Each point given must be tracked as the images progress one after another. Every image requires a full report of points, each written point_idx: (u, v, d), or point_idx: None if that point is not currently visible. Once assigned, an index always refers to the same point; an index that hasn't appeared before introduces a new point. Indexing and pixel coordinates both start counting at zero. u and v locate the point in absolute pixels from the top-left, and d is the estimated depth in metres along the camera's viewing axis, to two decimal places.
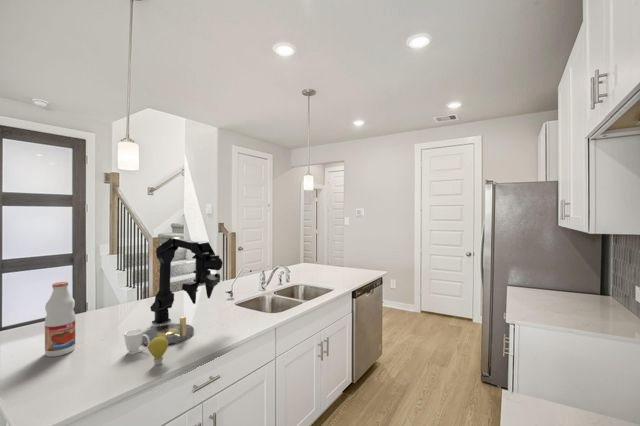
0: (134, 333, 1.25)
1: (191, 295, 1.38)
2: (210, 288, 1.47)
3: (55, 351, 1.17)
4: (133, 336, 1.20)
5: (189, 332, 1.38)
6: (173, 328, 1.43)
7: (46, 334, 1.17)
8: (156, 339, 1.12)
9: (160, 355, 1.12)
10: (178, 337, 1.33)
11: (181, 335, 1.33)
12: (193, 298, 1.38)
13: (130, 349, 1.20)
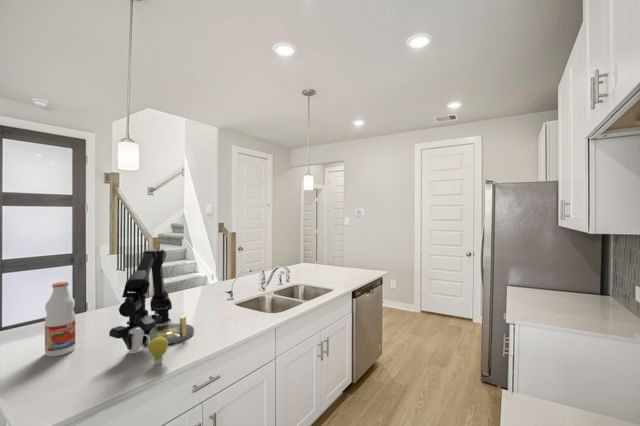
0: (135, 333, 1.25)
1: (126, 341, 1.19)
2: (146, 332, 1.25)
3: (55, 351, 1.17)
4: (134, 335, 1.20)
5: (189, 332, 1.38)
6: (173, 328, 1.43)
7: (46, 334, 1.17)
8: (156, 339, 1.12)
9: (160, 355, 1.12)
10: (178, 337, 1.33)
11: (181, 335, 1.33)
12: (128, 344, 1.18)
13: None
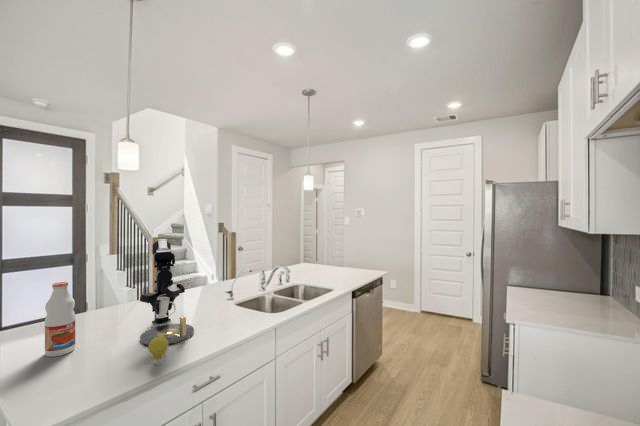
0: (161, 300, 1.38)
1: (154, 306, 1.32)
2: (171, 299, 1.38)
3: (55, 351, 1.17)
4: (161, 302, 1.33)
5: (189, 332, 1.38)
6: (173, 328, 1.43)
7: (46, 334, 1.17)
8: (156, 339, 1.12)
9: (160, 355, 1.12)
10: (178, 337, 1.33)
11: (181, 335, 1.33)
12: (156, 309, 1.32)
13: (158, 314, 1.34)
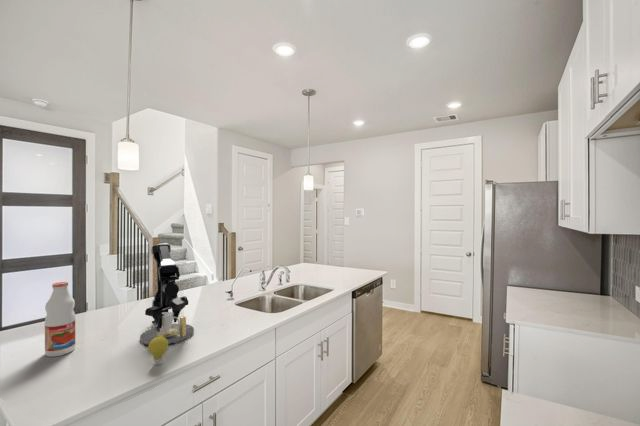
0: (165, 316, 1.41)
1: (157, 320, 1.33)
2: (177, 311, 1.42)
3: (55, 351, 1.17)
4: (166, 318, 1.36)
5: (189, 332, 1.38)
6: (173, 328, 1.43)
7: (46, 334, 1.17)
8: (156, 339, 1.12)
9: (160, 355, 1.12)
10: (178, 337, 1.33)
11: (181, 335, 1.33)
12: (159, 323, 1.33)
13: (163, 329, 1.36)
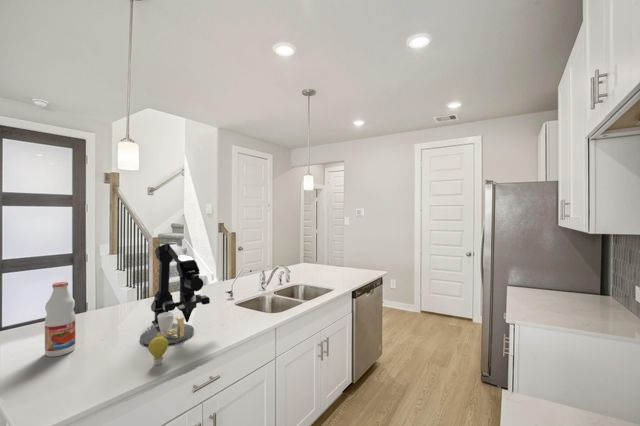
0: (166, 316, 1.41)
1: (183, 313, 1.34)
2: (188, 311, 1.34)
3: (55, 351, 1.17)
4: (165, 318, 1.36)
5: (188, 333, 1.37)
6: (174, 328, 1.43)
7: (46, 334, 1.17)
8: (156, 339, 1.12)
9: (160, 355, 1.12)
10: (176, 338, 1.32)
11: (179, 336, 1.32)
12: (184, 316, 1.34)
13: (162, 329, 1.36)
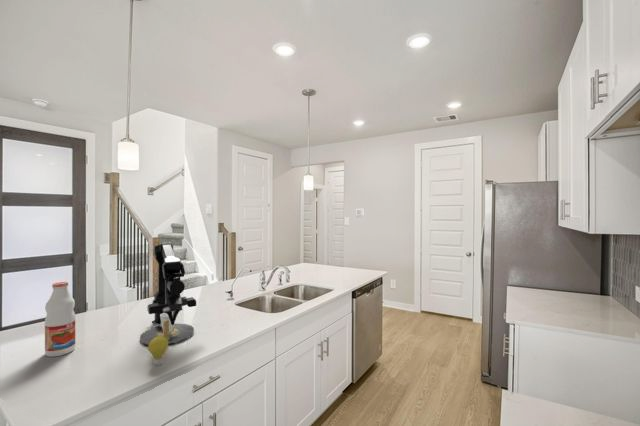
0: None
1: (168, 316, 1.31)
2: (174, 313, 1.31)
3: (55, 351, 1.17)
4: (163, 317, 1.36)
5: (177, 338, 1.32)
6: (178, 329, 1.41)
7: (46, 334, 1.17)
8: (156, 339, 1.12)
9: (160, 355, 1.12)
10: None
11: None
12: (170, 319, 1.30)
13: (162, 328, 1.38)
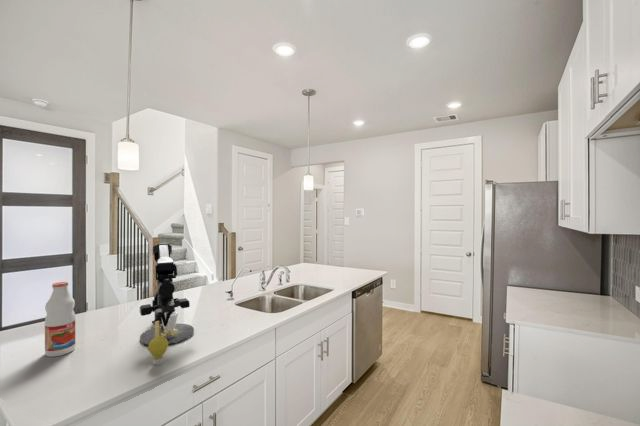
0: None
1: (161, 317, 1.30)
2: (167, 315, 1.30)
3: (55, 351, 1.17)
4: None
5: (168, 340, 1.29)
6: (179, 331, 1.40)
7: (46, 334, 1.17)
8: (156, 339, 1.12)
9: (160, 355, 1.12)
10: None
11: None
12: (162, 320, 1.29)
13: (163, 327, 1.38)
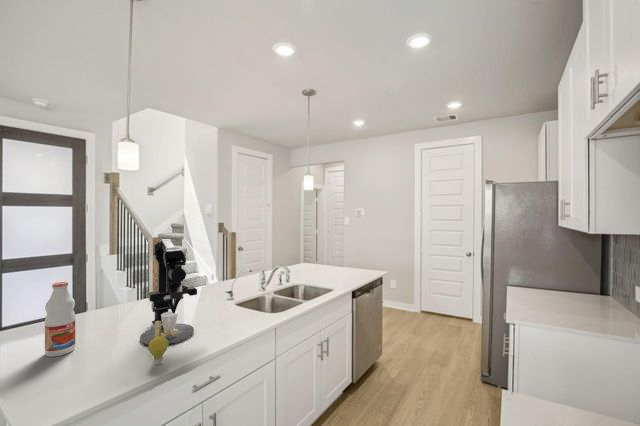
0: None
1: (169, 304, 1.32)
2: (175, 302, 1.32)
3: (55, 351, 1.17)
4: (162, 317, 1.37)
5: (168, 340, 1.29)
6: (179, 331, 1.40)
7: (46, 334, 1.17)
8: (156, 339, 1.12)
9: (160, 355, 1.12)
10: None
11: None
12: (170, 307, 1.31)
13: (163, 327, 1.38)
